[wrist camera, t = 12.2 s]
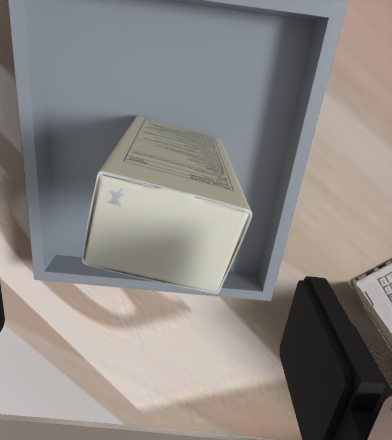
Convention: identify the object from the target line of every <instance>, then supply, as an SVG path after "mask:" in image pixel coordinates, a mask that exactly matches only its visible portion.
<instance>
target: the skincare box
mask: <svg viewBox="0 0 392 440" xmlns="http://www.w3.org/2000/svg"><path fill="white" fill-rule="evenodd" d="M251 218H252V212H251V209H250V207H249V205H248V202H247V200H246V197H245V196H244V193H243V191H242V188H241V186H240V183H239V181H238V179H237V176H236V174H235V172H234V169H233V167H232V164H231V162H230V160H229V157H228V155H227V152H226V150H225V148H224V145H223V143H222V141H221V140H220V139H218V138H215V137H212V136H209V135H206V134H203V133H200V132H196V131H193V130H190V129H187V128H183V127H180V126H176V125H173V124H169V123H165V122H162V121H158V120H154V119H150V118H146V117H142V116H136V117H135V119H134V120H133V122H132V123H131V125H130V126H129V128H128V129H127V131H126V132H125V134H124V135H123V137H122V138H121V139H120V141H119V142H118V144H117V146H116V147H115V149H114V150H113V151H112V153H111V154H110V156H109V157H108V159H107V160H106V162H105V163H104V165H103V166H102V167H101V169H100V170H99V172H98V174H97V178H96V183H95V188H94V192H93V197H92V202H91V207H90V212H89V217H88V222H87V227H86V233H85V239H84V246H83V254H82V263H83V264H85V265H88V266H92V267H95V268H98V269H103V270H107V271H110V272H115V273H118V274H123V275H126V276H131V277H136V278H141V279H145V280H149V281H154V282H159V283H164V284H168V285H173V286H178V287H183V288H188V289H193V290H198V291H204V292H209V293H214V294H218V293H219V292H220V290H221V287H222V285H223V282H224V280H225V278H226V276H227V274H228V272H229V270H230V267H231V265H232V263H233V261H234V259H235V256H236V254H237V252H238V249H239V247H240V245H241V243H242V240H243V238H244V235H245V233H246V230H247V228H248V226H249V223H250V221H251Z"/></svg>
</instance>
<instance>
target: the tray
mask: <svg viewBox="0 0 392 440" xmlns="http://www.w3.org/2000/svg"><path fill="white" fill-rule="evenodd" d="M8 2H9V13H10V24H11V35H12V45H13V56H14V67H15V78H16V88H17V99H18V110H19V121H20V131H21V142H22V153H23V164H24V174H25V185H26V196H27V207H28V217H29V228H30V239H31V250H32V261H33V271H34V280H44V281H55V282H66V283H77V284H88V285H99V286H110V287H121V288H132V289H143V290H154V291H165V292H176V293H187V294H198V295H209V296H220V297H231V298H243V299H254V300H265V301H271V299H272V295H273V291H274V287H275V283H276V280H277V276H278V272H279V268H280V264H281V260H282V256H283V252H284V248H285V245H286V241H287V237H288V233H289V229H290V225H291V221H292V217H293V213H294V210H295V206H296V202H297V198H298V194H299V190H300V186H301V182H302V178H303V175H304V171H305V167H306V163H307V159H308V155H309V151H310V147H311V143H312V140H313V136H314V132H315V128H316V124H317V120H318V116H319V112H320V108H321V105H322V101H323V97H324V93H325V89H326V85H327V81H328V77H329V73H330V70H331V66H332V62H333V58H334V54H335V50H336V46H337V42H338V38H339V35H340V31H341V27H342V23H343V19H344V15H345V11H346V7H347V3H348V2H341V1H334V0H8ZM136 116H142V117H146V118H150V119H154V120H158V121H162V122H165V123H169V124H173V125H176V126H180V127H183V128H187V129H190V130H193V131H196V132H200V133H203V134H206V135H209V136H212V137H215V138H218V139H220V140H221V141H222V143H223V145H224V148H225V150H226V152H227V155H228V157H229V160H230V162H231V164H232V167H233V169H234V172H235V174H236V176H237V179H238V181H239V183H240V186H241V188H242V191H243V193H244V196H245V197H246V200H247V202H248V205H249V207H250V209H251V212H252V218H251V221H250V223H249V226H248V228H247V230H246V233H245V235H244V238H243V240H242V243H241V245H240V247H239V249H238V252H237V254H236V256H235V259H234V261H233V263H232V265H231V267H230V270H229V272H228V274H227V276H226V278H225V280H224V282H223V285H222V287H221V290H220V292H219V293H218V294H214V293H209V292H204V291H198V290H193V289H188V288H183V287H178V286H173V285H168V284H164V283H159V282H154V281H149V280H145V279H141V278H136V277H131V276H126V275H123V274H118V273H115V272H110V271H107V270H103V269H98V268H95V267H92V266H88V265H85V264H83V263H82V254H83V246H84V239H85V233H86V227H87V222H88V217H89V212H90V207H91V202H92V197H93V192H94V188H95V183H96V178H97V174H98V172H99V170H100V169H101V167H102V166H103V165H104V163H105V162H106V160H107V159H108V157H109V156H110V154H111V153H112V151H113V150H114V149H115V147H116V146H117V144H118V142H119V141H120V139H121V138H122V137H123V135H124V134H125V132H126V131H127V129H128V128H129V126H130V125H131V123H132V122H133V120H134V119H135V117H136Z"/></svg>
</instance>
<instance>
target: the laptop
mask: <svg viewBox="0 0 392 440" xmlns="http://www.w3.org/2000/svg"><path fill="white" fill-rule="evenodd" d="M385 264H386V265H385V266H384V265H383V267H381V268H380V267H379V269H378V268H377V267H376V268H374V269H373V272H372V271H371V272H372V273H370V274H369V273H368V275H367V274H366V273H365V274H363V275H361V276H359V277H357V278H355V279H354V280H353V281H352V282H353V284H354V285H353V286H354V288H355V290H356V291H357V293H358V295H359V298H360V300H361V301H362V303H363V305H364V306H365V308H366V309H367V311H369V312H370V313H371V315H372V317H373V318H374V320H375V321H376V323H377V325H378V326H379V328H380V329H381V331H382V332H383V334H384V336H385V337H386V339H387V340H388V342H389V343H390V345H391V347H392V259H391V260H389V261H387V262H386V263H385ZM365 292H366V293H367V295H368V296H369V298H370V300H371V301H372V302H373V303H371V301H370V300H369V298H368V296H367V295H366V293H365Z"/></svg>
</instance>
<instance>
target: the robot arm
mask: <svg viewBox="0 0 392 440" xmlns="http://www.w3.org/2000/svg"><path fill="white" fill-rule="evenodd" d="M4 322H5V316H4V308H3V300H2V293H1V285H0V332H1V330H2V328H3V326H4ZM280 358H281V362H282V366H283V369H284V373H285V377H286V381H287V384H288V388H289V392H290V395H291V399H292V403H293V407H294V410H295V414H296V418H297V421H298V425H299V429H300V433H301V436H302V440H392V390H391V388H390V386H389V384H388V383H387V381H386V379H385V377H384V376H383V374H382V372H381V371H380V369H379V367H378V365H377V364H376V362H375V360H374V358H373V357H372V355H371V353H370V352H369V350H368V348H367V346H366V345H365V343H364V341H363V339H362V338H361V336H360V334H359V332H358V331H357V329H356V328H355V326H354V325H353V324H352V323H351V322H350V320H349V318H348V316H347V315H346V313H345V311H344V309H343V308H342V306H341V304H340V302H339V301H338V299H337V297H336V295H335V294H334V292H333V290H332V288H331V287H330V285H329V283H328V281H327V280H326V279H325V278H318V277H309V276H307V277H305V279H304V281H303V280H300V281H299V282H298V284H297V287H296V291H295V295H294V298H293V302H292V305H291V309H290V312H289V316H288V320H287V323H286V327H285V330H284V334H283V337H282V341H281V345H280ZM0 440H277V439H268V438H259V437H249V436H239V435H228V434H217V433H207V432H196V431H185V430H175V429H164V428H153V427H142V426H130V425H118V424H107V423H97V422H85V421H73V420H62V419H50V418H39V417H26V416H15V415H2V414H0Z"/></svg>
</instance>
